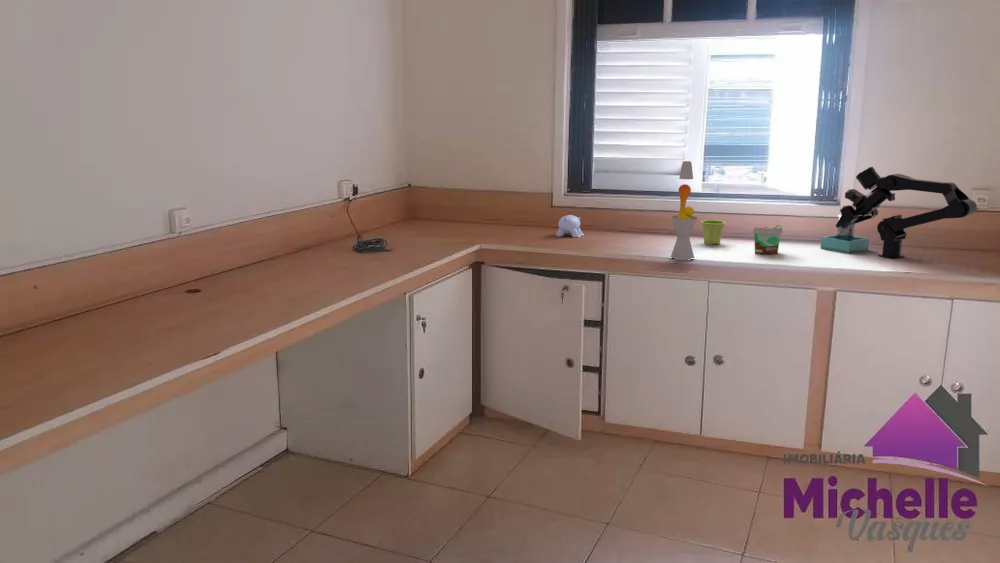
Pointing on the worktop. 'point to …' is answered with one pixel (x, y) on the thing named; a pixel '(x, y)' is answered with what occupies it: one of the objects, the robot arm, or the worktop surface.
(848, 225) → the grey can
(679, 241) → the lava lamp
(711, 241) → the plant pot
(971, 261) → the worktop surface
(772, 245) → the food container
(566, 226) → the hippopotamus toy
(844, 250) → the teal bin
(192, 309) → the worktop surface
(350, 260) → the worktop surface
